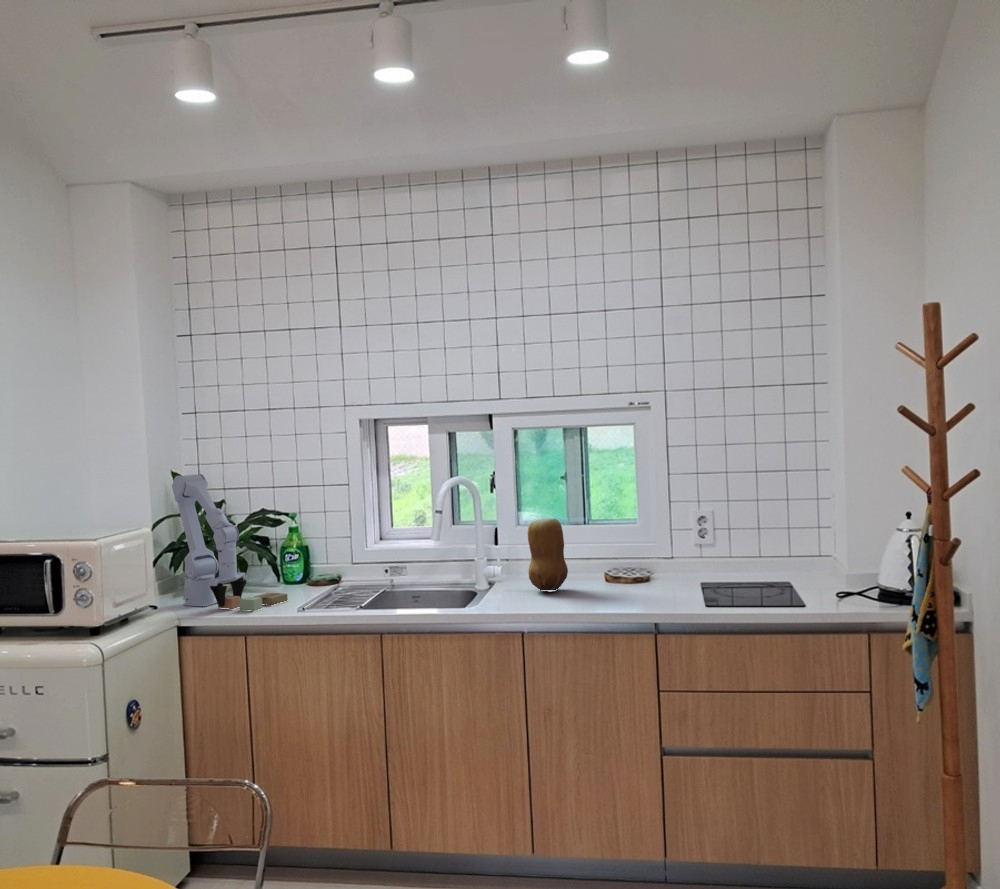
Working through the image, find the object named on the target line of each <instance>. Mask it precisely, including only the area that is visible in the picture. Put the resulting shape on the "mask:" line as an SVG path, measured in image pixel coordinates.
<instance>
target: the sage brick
mask: <svg viewBox="0 0 1000 889" xmlns="http://www.w3.org/2000/svg"><path fill="white" fill-rule="evenodd" d="M239 605H240V608H239V611H240V610H251V611H255V610H258V609H261V608H263V605H262V598H259V597H254V596H245V597H243V598H242V597H241V599H239Z"/></svg>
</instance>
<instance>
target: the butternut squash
mask: <svg viewBox="0 0 1000 889" xmlns="http://www.w3.org/2000/svg"><path fill="white" fill-rule="evenodd" d="M564 541H565V540H564V531H563V527H562V525H561V523H560V521H559V520H558V519H556V518H544V519H535V520H533V521H531V522H530V523H529V524H528V526H527V542H528V547H529V551H530V556H531V557H530V562H529V567H528V579H529V581H530V582H531V584H532V585H533V586H534V587H535V588H537V589H538V590H539V589H540V590H539V591H541V590H556V589H558V588H559V587H560V588H561V586H562V585H563V583H564V582H565V581H566V579H567V578H568V572H569V568H568V564H567V563H566V560H565V554H564V552H565V542H564ZM560 588H559V589H560ZM559 589H558V590H559Z"/></svg>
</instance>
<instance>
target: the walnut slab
mask: <svg viewBox="0 0 1000 889" xmlns="http://www.w3.org/2000/svg"><path fill="white" fill-rule="evenodd" d="M253 597H259V598H262V604H267V605H274V604H277V603H280V602H284V601H287V600H288V593H284V592H282V593H281V592H280V593H279V592H265V593H262V594H258V595H255V596H253ZM287 602H288V601H287ZM284 603H285V602H284ZM274 606H275V605H274Z"/></svg>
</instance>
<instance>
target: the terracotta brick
mask: <svg viewBox="0 0 1000 889" xmlns="http://www.w3.org/2000/svg"><path fill="white" fill-rule="evenodd" d="M239 599H240V596H233V595H230V594H229V595H228V594H225V606H224V607H218V606H217V609H218V608H229V609H234V608H237V607H240V605H239Z"/></svg>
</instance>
